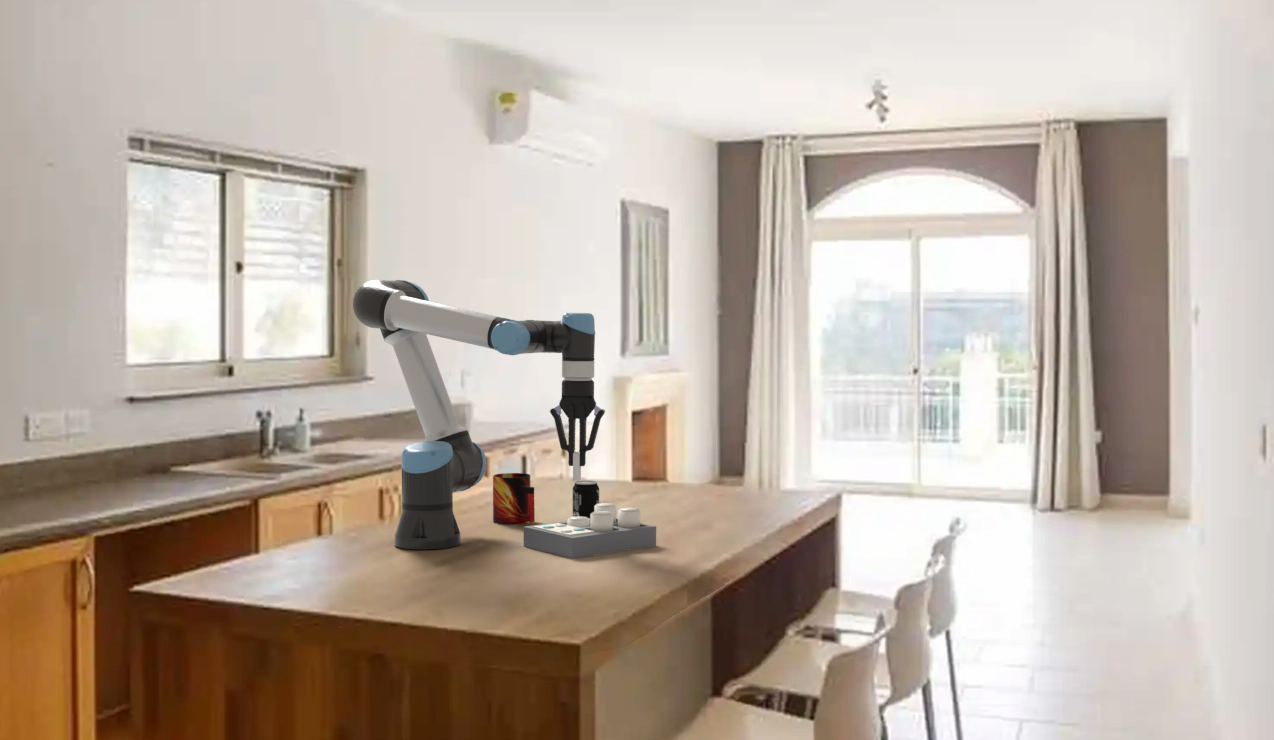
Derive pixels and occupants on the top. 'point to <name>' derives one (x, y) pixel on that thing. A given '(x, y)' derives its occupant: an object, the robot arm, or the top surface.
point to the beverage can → (585, 498)
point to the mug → (513, 499)
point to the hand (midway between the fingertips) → (576, 480)
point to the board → (587, 539)
